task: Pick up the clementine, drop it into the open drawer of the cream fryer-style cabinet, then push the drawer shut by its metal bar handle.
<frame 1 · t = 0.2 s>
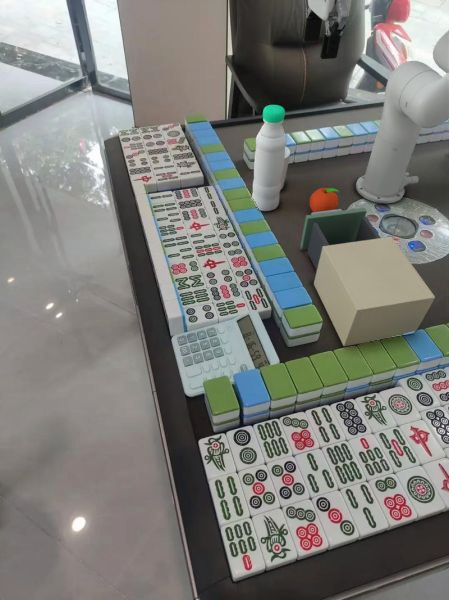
hand: (319, 49, 85), 36 cm above the table, tool pointing down, fingers open, 9 cm apart
drawer: (341, 243, 93), point 5 cm above the table, slide at 10.0 cm
clementine: (322, 213, 109), on the table
white cup: (271, 185, 117), on the table
water bottle: (264, 204, 112), on the table
cabinet: (361, 307, 88), on the table
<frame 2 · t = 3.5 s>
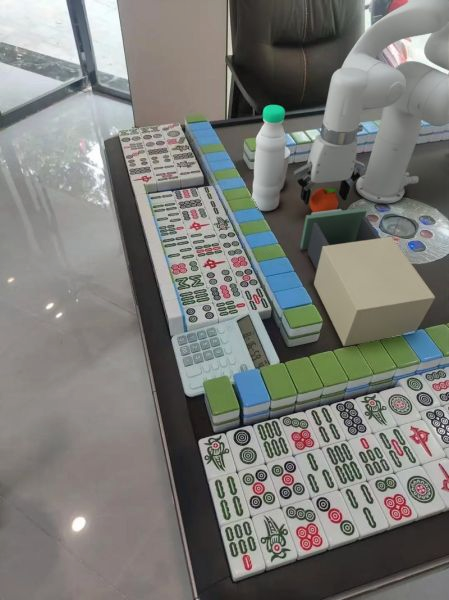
hand: (323, 199, 105), 5 cm above the table, tool pointing down, fingers open, 9 cm apart
clementine: (322, 213, 109), on the table, touching gripper
everything else where it was.
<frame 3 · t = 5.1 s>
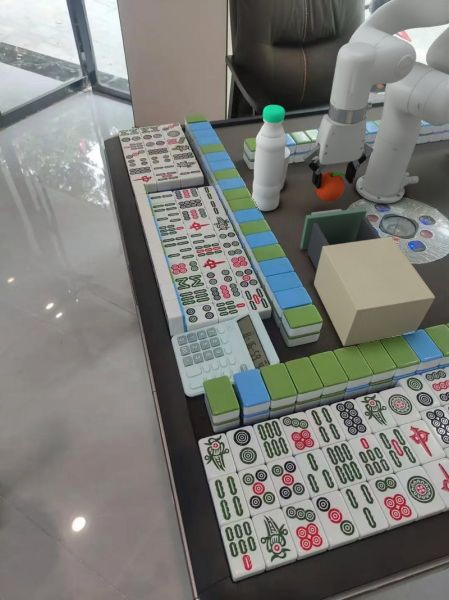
hand: (332, 182, 103), 9 cm above the table, tool pointing down, fingers closed on clementine, 7 cm apart
clementine: (328, 199, 107), point 4 cm above the table, touching gripper
everything else where it was.
when the fingers open (10 cm above the table, at t = 9.9 s): clementine drops 3 cm, resting on drawer.
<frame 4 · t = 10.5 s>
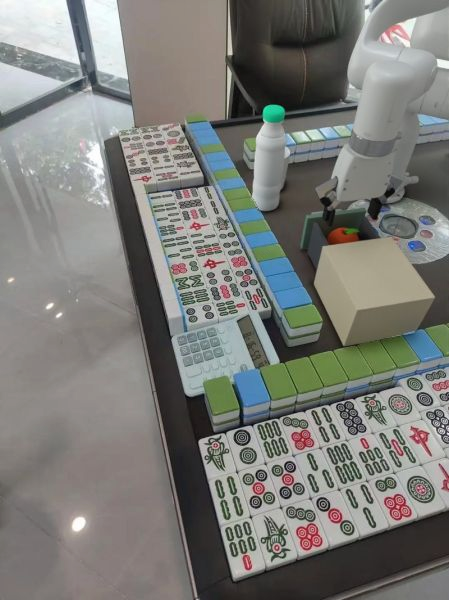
hand: (349, 219, 88), 12 cm above the table, tool pointing down, fingers open, 9 cm apart
drawer: (341, 243, 93), point 5 cm above the table, slide at 10.0 cm, touching clementine
clementine: (341, 255, 96), point 2 cm above the table, touching drawer
everything else where it was.
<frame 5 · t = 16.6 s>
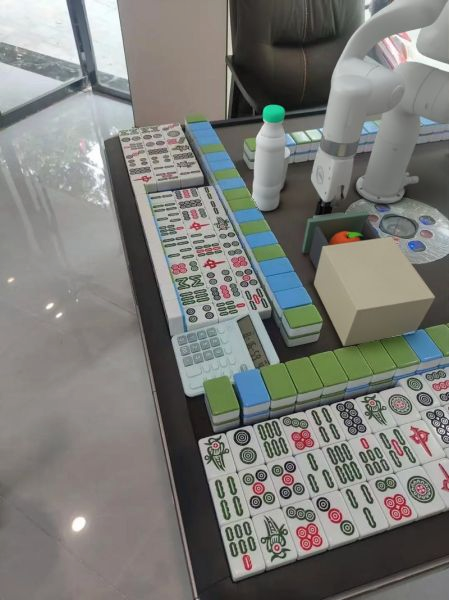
hand: (322, 216, 101), 5 cm above the table, tool pointing down, fingers closed
drawer: (343, 247, 93), point 5 cm above the table, slide at 8.8 cm, touching clementine, gripper
clementine: (343, 259, 95), point 2 cm above the table, touching drawer
everything else where it was.
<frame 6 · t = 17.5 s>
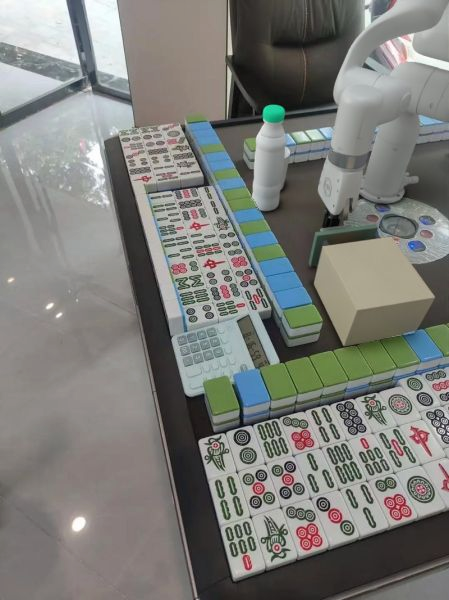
hand: (329, 228, 98), 5 cm above the table, tool pointing down, fingers closed
drawer: (351, 261, 90), point 5 cm above the table, slide at 4.2 cm, touching clementine, gripper
clementine: (351, 273, 92), point 2 cm above the table, touching drawer
everything else where it was.
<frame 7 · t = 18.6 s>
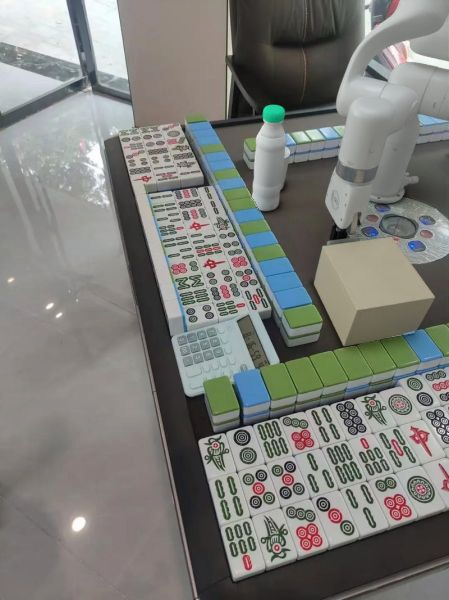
hand: (337, 240, 95), 5 cm above the table, tool pointing down, fingers closed
drawer: (360, 275, 87), point 5 cm above the table, slide at 0.0 cm, touching cabinet, clementine, gripper
clementine: (359, 287, 90), point 2 cm above the table, touching drawer
everything else where it was.
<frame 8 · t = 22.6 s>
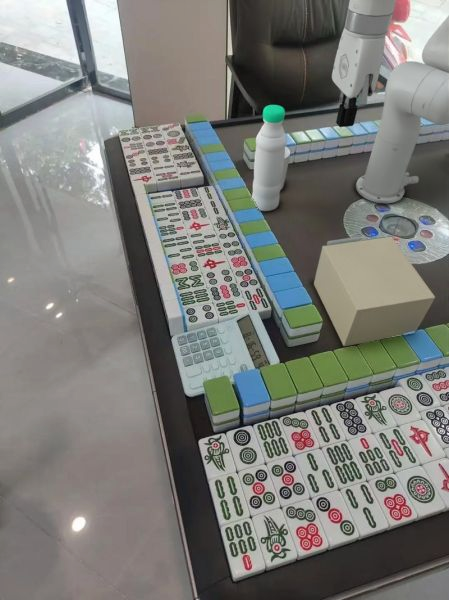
hand: (344, 124, 88), 25 cm above the table, tool pointing down, fingers closed
drawer: (360, 275, 87), point 5 cm above the table, slide at 0.0 cm, touching clementine
everything else where it was.
at the end: clementine inside the target area in the cabinet (3.9 cm from its centre), point 1.9 cm above the cabinet's base; drawer slide at 0.0 cm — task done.
